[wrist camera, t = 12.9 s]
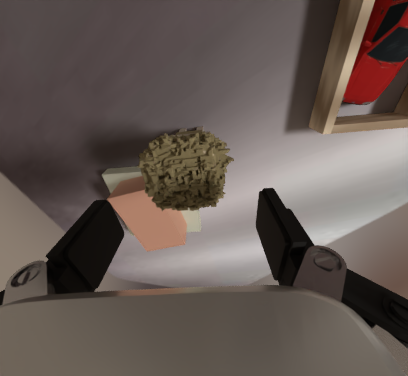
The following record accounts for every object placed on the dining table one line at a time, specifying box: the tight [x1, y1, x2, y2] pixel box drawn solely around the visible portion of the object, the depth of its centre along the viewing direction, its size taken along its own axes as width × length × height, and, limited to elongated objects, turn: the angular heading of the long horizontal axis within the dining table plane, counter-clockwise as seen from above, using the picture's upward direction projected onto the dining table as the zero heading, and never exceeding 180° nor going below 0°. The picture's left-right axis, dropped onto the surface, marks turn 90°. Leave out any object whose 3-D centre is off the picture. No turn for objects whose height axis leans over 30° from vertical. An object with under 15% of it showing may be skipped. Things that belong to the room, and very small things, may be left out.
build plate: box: [102, 166, 201, 236], centre depth 31 cm, size 14×14×2 cm
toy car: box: [342, 0, 408, 105], centre depth 17 cm, size 6×14×5 cm, turn 172°
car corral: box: [309, 0, 408, 134], centre depth 17 cm, size 20×12×4 cm, turn 5°
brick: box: [107, 176, 187, 251], centre depth 28 cm, size 12×7×4 cm, turn 16°
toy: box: [137, 126, 234, 211], centre depth 18 cm, size 7×7×15 cm
